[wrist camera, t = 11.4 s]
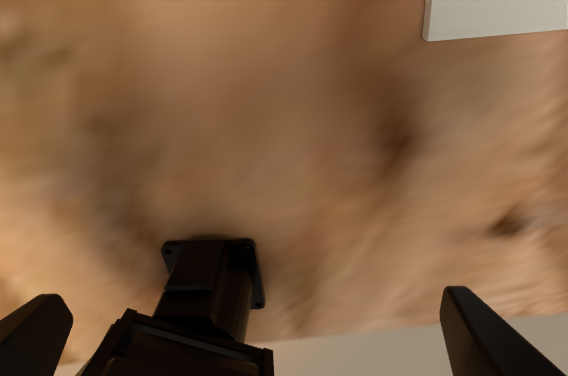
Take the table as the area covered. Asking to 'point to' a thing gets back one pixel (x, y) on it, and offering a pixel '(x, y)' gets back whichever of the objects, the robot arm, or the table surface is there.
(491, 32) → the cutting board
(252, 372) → the robot arm
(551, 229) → the table surface
